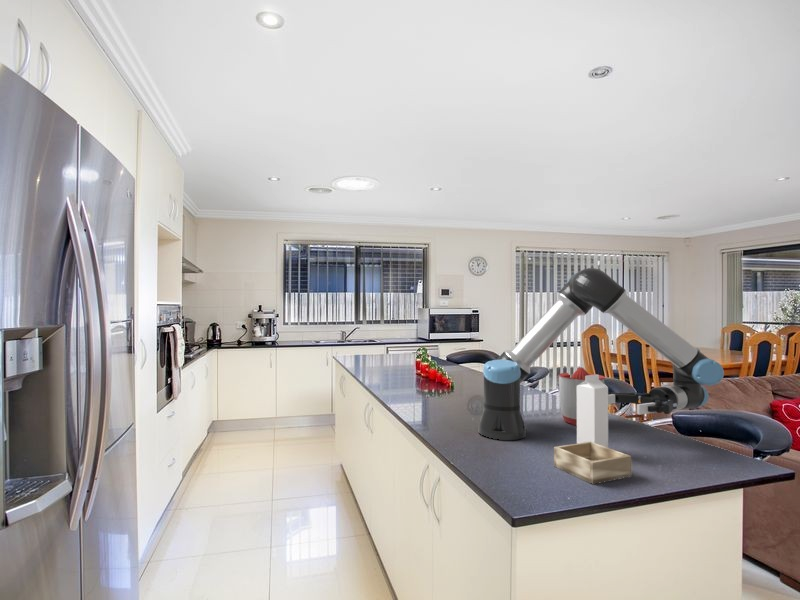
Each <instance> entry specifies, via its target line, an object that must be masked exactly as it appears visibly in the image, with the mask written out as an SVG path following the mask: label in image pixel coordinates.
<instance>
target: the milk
mask: <svg viewBox="0 0 800 600" xmlns="http://www.w3.org/2000/svg"><path fill="white" fill-rule="evenodd" d="M599 375H600V374H596V375H588V376H585V381H584V382H582V383H581V384H579V385H577V425H576V444H578V443H584V442H593V443H596V444H599V445H601V446H604V447H607V448H609V404H608V393H609V387H608V386H607V385H606V384H605V382H604V383H602V382H601V381H600V380H599Z"/></svg>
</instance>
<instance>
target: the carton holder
mask: <svg viewBox="0 0 800 600" xmlns="http://www.w3.org/2000/svg"><path fill="white" fill-rule="evenodd" d="M553 467H555V468H557V469H559V470H560V471H562V472H565V473H567V474H569V475H572V476H573V477H575V476H576V478H577V479H580V480H582V481H584V480H585V482H586V481H587V483H588V482H589V483H588V484H590V483H592V484H591V485H596V484H595V483H598V484H600V483H599V482H603V483H605V482H604V481H608V482H610V481H609V480H613V481H615V480H614V479H618V480H620V479H619V478H623V477H628V478H630V477H629V476H631V477H632V455H629V454H627V453H624V452H621V451H619V450H615V449H613V448H610V447H608V448H607V447H604V446H601V445H599V444H596V443H593V442H584V443H578V444H577V443H571V444H566V445H559V446H554V447H553ZM623 479H624V478H623Z"/></svg>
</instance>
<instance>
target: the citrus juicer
mask: <svg viewBox="0 0 800 600" xmlns="http://www.w3.org/2000/svg"><path fill="white" fill-rule="evenodd" d="M588 375H597V374H596V373H595V374H594V373H588V371H587V370H586V369H585V368H584V367H581V366H579V368H578V369H576V370H575V371H574V372H573V374H572V375H571V374H569V372H562V373H561V372H560V373H558V380H559V382H558V398H559V406H560V411H561V415H562V418H563V421H564V422H566V423H569V424H571V425H573V426H577V385H579V384H581V383H582V382H584V381H585V376H588ZM598 375H599V380H600V381H601V382H602V383H604V384H605V378H606V377H605V376H604V375H601V374H598Z"/></svg>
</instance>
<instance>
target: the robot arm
mask: <svg viewBox="0 0 800 600" xmlns="http://www.w3.org/2000/svg"><path fill="white" fill-rule="evenodd" d="M592 308H596V309H597V310H599V311H600V313H601V312H602V314H608V315H610V316H612V317H613V318H614V319H615V320H617V322H619V323H621V324H622V326H625V328H627V329H628V330H630V331H631V332H632V333H633V334H634V335H635V336H637V337H638V338H640V340H642V341H643V342H645V344H647V345H649V346H650V347H651V348H652V349H653V350H655V351H656V352H658V353H659V354H660V355H661V356H663V357H664V359H667V361H669V362H671V364H672V374H673V375H672V377H673V385H666V386H659V387H653V388H652V389H650V390H649V392H643V393H640V392H637V391H636V392H612V391H611V392H610V391H608V405H615V404H616V403H623V404H625V403H627V404H635V405H636V414H637V415H639V416H640V415H641V416H642V415H648V414H654V413H658V414H660V413H664V414H665V415H669V414H670V413H674V412H676V411H680V410H689V409H696V408H700V407H703V406H705V405H706V404H707V403H708V402H709V399H710V398H709V397H710V395H709V393H708V391H707V389H706V387H705V386H715V385H717V384H719V383H721V381H722V380H723V378H724V375H725V371H724V368H723V366H722V365H721V364H720V363H719V362H717V361H716V360H714V359H712V358H709V357H708V356H706V355H705V354H704V353H702V352H701V351H700V349H699V348H696V347H695V346H693V345H692V344H691V343H690V342H688V341H687V340H685V338H683V337H682V336H680V335H679V334H678V333H676V332H675V331H674V330H673V329H672V328H670V327H669V326H668V325H666V324H665V323H664V322H662V321H661V320H660V319H658V317H656V316H655V315H653V314H652V313H651V312H649V311H648V310H647V309H646V308H644V307H642V305H640V304H639V303H638V302H637V301H636V300H634V299H632V298H631V297H630V296H629V295H627V290H626V289H625V288H624V287H622V286H621V285H620V284H619V283H618V282H617V281H616V280H614V279H613V278H612V277H611V276H609V275H608V274H607V273H606V272H605V271H603V270H602V269H599V268H595V267H589V268H588V267H587V268H584V269H582V270H579V271H578V272H576V273H574V274H572V276H570V278H569V279H568V281H567V282H566V284H565V285H564V286H563V287H562V288H561V289H560V290H559V291H558V292H557V300H556V301H555V302H554V303H553V304H552V305H551V307H550V308H549V309H548V310H547V311H546V312H545V313H544V314H543V315H542V316H541V317H540V319H539V320H538V321H537V322H536V323H534V325H533V326H532V327H531V328H530V329H529V330H528V332H526V333H525V335H524V336H523V337H522V338H521V339H520V340H519V341H518V342H517V343H516V345H514V346H513V347H512V349H509V350H507V349H505V350H504V351H503V352H502V353H501V354H500V356H499V357H497V359H492V360H489V361H487V362H485V363H484V365H483V372H482V373H483V410H482V412H481V413H482V414H481V417H480V420H479V423H478V427H477V428H478V429H477V431H478V432H479V433H480V434H482V435H484V436H486V437H485V438H487V437H489V438H488V439H491V438H493V439H492V440H497V439H499V441H516V440H521V439H524V438H525V437H526V436H527V435H526V434H527V430H526V424H525V423H524V418H523V416H522V413H521V384H522V383H523V382H524V381H525V379H526V378H528V377H529V375H530V374H531V366H533V364H534V363H535V362H536V361H537V360H538V359H539V358H540V357H541V356H542V355H543V354H544V353H545V351H547V350H548V349H549V347H551V345H552V344H553V343H555V341H556V340H557V339H558V337H560V336H561V334H562V333H564V331H566V330H567V328H568V327H569V326H570V325H571V324H572V323H573V322H574V321H575V320H576V318H577V317H580V316H581V317H582V316H586V315H587V314H588V313H589V312H590V311H591V309H592ZM703 385H705V386H703ZM639 401H640V402H639ZM479 433H478V434H479ZM480 434H479V435H480ZM482 435H481V436H482ZM484 436H483V437H484Z"/></svg>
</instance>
